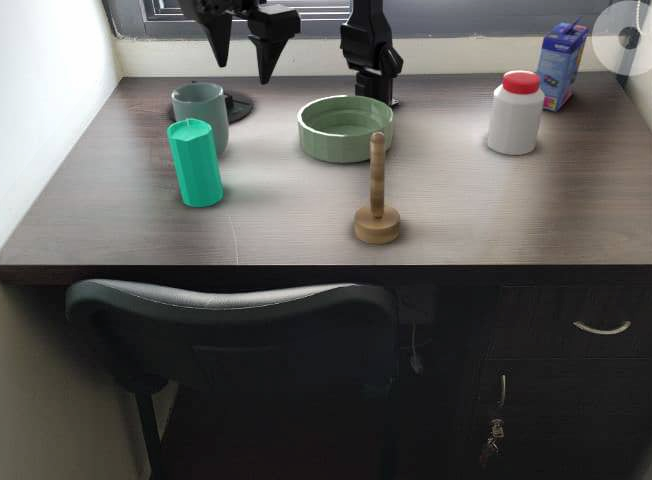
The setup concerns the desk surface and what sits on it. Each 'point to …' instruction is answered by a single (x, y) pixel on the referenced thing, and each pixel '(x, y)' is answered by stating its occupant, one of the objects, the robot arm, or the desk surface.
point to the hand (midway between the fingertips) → (242, 75)
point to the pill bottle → (516, 113)
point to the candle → (195, 162)
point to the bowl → (343, 127)
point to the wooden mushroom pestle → (377, 201)
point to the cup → (204, 109)
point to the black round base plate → (231, 106)
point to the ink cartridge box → (560, 62)
